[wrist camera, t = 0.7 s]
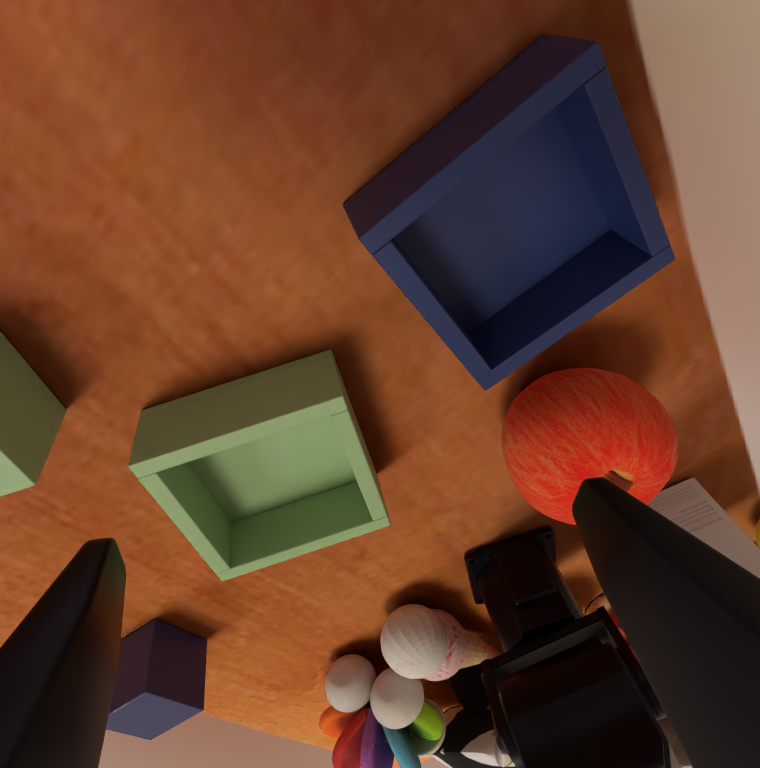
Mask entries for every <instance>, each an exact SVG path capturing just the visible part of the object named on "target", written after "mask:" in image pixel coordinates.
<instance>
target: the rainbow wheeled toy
mask: <svg viewBox="0 0 760 768" xmlns="http://www.w3.org/2000/svg"><path fill="white" fill-rule="evenodd" d="M325 691H326V696H327V699H328V701H329V703H330V704H331V705H332V706H331V707H329V708H327V709H326V710H325V711H324V712H323V713H322V715H321V717H320V721H319V725H320V729H321V731H322V732H323V733H324V734H325V735H327V736H330V737H334V738H338V740H337V742H336V744H335V747H334V751H333V756H332V762H333V765H334V768H360V767H361V768H392V766H393V760H394V755H395V757H396V759H397V761H398V763H399V765H400V767H401V768H421V764H420V760H419V757H427V756H430V755H432V754H433V753H435V752H436V751H437V750H438V749H439V747H440V746H441V744H442V742H443V740H444V738H445V733H446V722H445V717H444V714H443V712H442V710H441V708H440V707H439V706H438V704H437V703H435V702H434V701H433V700H430V699H428V698H424V689H423V685H422V682H421V680H420V679H410V678H406V677H403V676H401V675H399V674H397V673H396V672H395V671H394V670H393V669H392V668H388V669H386V670H384V671H383V672H382V673H381V674H380V675H379V676H378V677H377V678H376V676H375V670H374V668H373V666H372V664H371V663H370V662H369V661H368V660H367V659H366V658H364V657H363V656H360V655H356V654H348V655H344V656H342V657H340V658H338V659H337V660H336V661H335V662H334V663H333V664H332V665H331V667H330V669H329V671H328V673H327V676H326V680H325Z"/></svg>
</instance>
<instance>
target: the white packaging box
mask: <svg viewBox="0 0 760 768" xmlns="http://www.w3.org/2000/svg"><path fill="white" fill-rule="evenodd" d="M648 506H649V507H651V508H652V509H654V510H655V511H657V512H658V513H660V514H662V515H663V516H665V517H666V518H668V519H669V520H671V521H672V522H674V523H675V524H677V525H678V526H680V527H681V528H683V529H685V530H686V531H688V532H689V533H691V534H692V535H694V536H695V537H697V538H698V539H700V540H701V541H703V542H705V543H706V544H708V545H709V546H711V547H712V548H714V549H715V550H717V551H718V552H720V553H721V554H723V555H725V556H726V557H728V558H729V559H731V560H732V561H734V562H735V563H737V564H738V565H740V566H741V567H743V568H744V569H746V570H748V571H749V572H751V573H752V574H754V575H755V576H757V577H758V578H760V549H759V548H758V547H757V546H756V545H755V543H754V542H753V541H752V540H751V539H750V538H749V537H748V536H747V535H746V534H745V533H744V532H743V530H742V529H741V528H740V527H739V526H738V525H737V524H736V523H735V522H734V521H733V520H732V519H731V517H730V516H729V515H728V514H727V513H726V512H725V511H724V510H723V509H722V508H721V506H720V505H719V504H718V503H717V502H716V501H715V500H714V499H713V498H712V497H711V496H710V495H709V494H708V492H707V491H706V490H705V489H704V488H703V487H702V486H701V485H700V484H699V483H698V482H697V480H696V479H695V478H690V479H688V480H685V481H683V482H681V483H678V484H676V485H673V486H671V487H669V488H667V489H664V490H662V491H660V492H659V494H658V495H657V496H656V497H655V498H654V499H653V500H652V501H651V502H650V503H649V504H648Z"/></svg>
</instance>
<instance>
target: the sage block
mask: <svg viewBox="0 0 760 768" xmlns="http://www.w3.org/2000/svg"><path fill="white" fill-rule="evenodd" d="M65 413H66V408H65V407H64V406H63V405H62V404H61V403H60V401H59V400H58V399H57V398H56V397H55V395H54V394H53V393H52V392H51V391H50V390H49V388H48V387H47V386H46V385H45V384H44V382H43V381H42V380H41V379H40V378H39V376H38V375H37V374H36V373H35V372H34V371H33V369H32V368H31V367H30V366H29V365H28V363H27V362H26V361H25V360H24V359H23V357H22V356H21V355H20V354H19V353H18V352H17V350H16V349H15V348H14V347H13V346H12V344H11V343H10V342H9V341H8V340H7V338H6V337H5V336H4V335H3V334H2V333H1V331H0V497H1V496H4V495H7V494H10V493H13V492H16V491H19V490H22V489H25V488H28V487H31V486H35V485H36V483H37V481H38V478H39V476H40V474H41V471H42V469H43V466H44V464H45V461H46V459H47V457H48V454H49V452H50V449H51V447H52V444H53V442H54V440H55V437H56V435H57V432H58V430H59V427H60V425H61V423H62V420H63V418H64V415H65Z"/></svg>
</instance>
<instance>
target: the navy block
mask: <svg viewBox="0 0 760 768" xmlns="http://www.w3.org/2000/svg"><path fill="white" fill-rule="evenodd" d="M206 652H207V640H205V639H203V638H201V637H198V636H196V635H194V634H191V633H189V632H186V631H184V630H182V629H179V628H177V627H174V626H172V625H170V624H167V623H165V622H163V621H160V620H158V619H154V620H153V621H151V622H149V623H148V624H146V625H145V626H143V627H141V628H140V629H138V630H137V631H135V632H133V633H132V634H130V635H129V636H127V637H125V638H124V639H122V640H121V642H120V653H119V663H118V670H117V676H116V681H115V686H114V691H113V696H112V701H111V706H110V711H109V716H108V721H107V726H106V729H107V730H112V731H116V732H120V733H124V734H128V735H132V736H137V737H141V738H144V739H148V740H151V739H153V738H155V737H157V736H158V735H160V734H162V733H164V732H166V731H167V730H169V729H171V728H173V727H175V726H176V725H178V724H180V723H182V722H184V721H185V720H187V719H189V718H190V717H192V716H194V715H196V714H198V713H199V712H201V711H203V710H204V693H205V673H206Z"/></svg>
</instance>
